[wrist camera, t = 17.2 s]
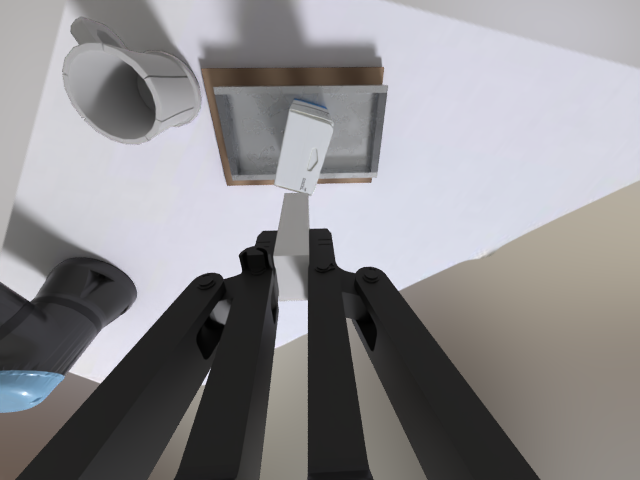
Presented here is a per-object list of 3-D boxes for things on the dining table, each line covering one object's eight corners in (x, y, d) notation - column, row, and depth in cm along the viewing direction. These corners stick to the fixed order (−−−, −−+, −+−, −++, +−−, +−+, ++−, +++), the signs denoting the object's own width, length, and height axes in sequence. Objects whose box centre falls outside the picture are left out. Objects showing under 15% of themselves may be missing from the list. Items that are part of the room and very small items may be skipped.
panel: (228, 183, 43) (227, 185, 42) (203, 68, 34) (201, 68, 33) (370, 180, 43) (371, 182, 42) (382, 67, 34) (384, 67, 34)
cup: (117, 98, 35) (41, 109, 25) (124, 24, 31) (37, 1, 21) (194, 136, 38) (154, 159, 28) (210, 73, 34) (170, 75, 24)
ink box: (293, 96, 34) (288, 106, 24) (328, 107, 35) (336, 121, 25) (280, 157, 39) (271, 187, 29) (311, 166, 40) (313, 197, 30)
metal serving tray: (237, 173, 41) (232, 180, 38) (220, 85, 34) (213, 87, 31) (372, 171, 41) (376, 177, 39) (382, 84, 35) (388, 85, 32)
